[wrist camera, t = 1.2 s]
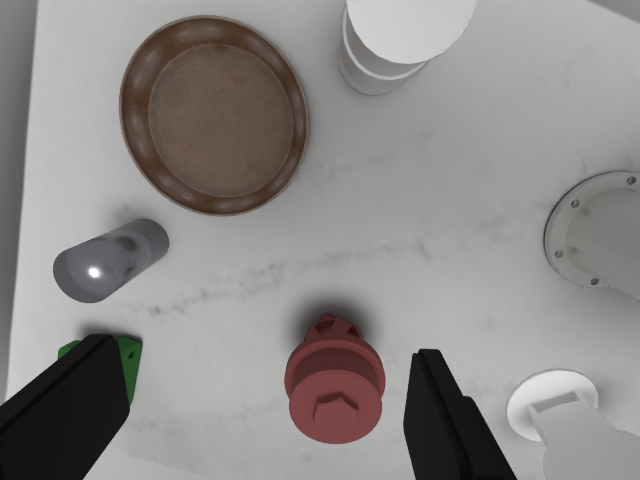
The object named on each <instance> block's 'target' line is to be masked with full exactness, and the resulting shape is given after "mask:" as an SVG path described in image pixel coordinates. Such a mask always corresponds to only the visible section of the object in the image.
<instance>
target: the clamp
mask: <svg viewBox="0 0 640 480" xmlns="http://www.w3.org/2000/svg"><path fill="white" fill-rule="evenodd" d="M117 341H118V343H119V348H120V354H121V359H122V365H123V371H124V376H125V382H126V388H127V393H128V399H129V405H130V404H131V402H132V398H133V392H134V386H135V381H136V375H137V370H138V364H139V358H140V353H141V344H139V343H137V342H135V341H133V340H131V339H129V338H127V337H121V338H119V339H117ZM79 342H81V341H79V340H75V341H72V342H71V343H69V344H67V345H65V346H63V347H61V348H60V349H59V351H58V359H60V358H61V357H62V356H63V355H64V354H66V353H67V352H68V351H69V350H71V349H72V348H73V347H74V346H76V345H77V344H78V343H79Z"/></svg>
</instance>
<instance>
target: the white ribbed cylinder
mask: <svg viewBox="0 0 640 480" xmlns="http://www.w3.org/2000/svg"><path fill="white" fill-rule="evenodd" d="M476 4H477V0H346V3H345V6H344V9H343V12H342V18H341V26H340V36H339V50H338V59H339V66H340V69H341V71H342V74H343V76H344V78H345V79H346V80H347V82H348V83H349V84H350V85H351V86H352V87H353V88H355V89H356V90H357V91H359V92H362V93H365V94H369V95H379V94H384V93H387V92H389V91H391V90H393V89H395V88H396V87H397V86H399V85H401V84H403V83H404V82H405V81H407V80H408V79H409V78H411V77H412V76H413V75H415V74H416V73H417V72H419V71H420V70H421V69H422V68H423V67H424V66H425V65H427V63H428V62H429V60H430V59H432V58H434V57H436V56H438V55H440V54H441V53H443V52H444V51H445V50H446V49H447V48H448V47H450V46H451V45H452V44H453V43H454V42H455V41H457V39H458V38H459V36H460V35H461V34H462V32H463V31H464V29H465V28H466V27H467V25H468V23H469V21H470V19H471V17H472V14H473V12H474V10H475V7H476Z"/></svg>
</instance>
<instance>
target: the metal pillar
mask: <svg viewBox="0 0 640 480" xmlns="http://www.w3.org/2000/svg"><path fill="white" fill-rule="evenodd" d="M168 248H169V239H168V236H167V234H166V232H165V230H164V229H163V228H162V227H161V226H160V225H159V224H157V223H156V222H154V221H151V220H148V219H139V220H136V221H133V222H131V223H129V224H126V225H124V226H121V227H119V228H117V229H114V230H112V231H110V232H107V233H105V234H103V235H100V236H98V237H95V238H93V239H91V240H88V241H86V242H84V243H81V244H79V245H77V246H74V247H72V248H70V249H67V250H65V251H63V252H61V253H60V254H59V255H58V256H57V258H56V259H55V262H54V265H53V274H54V278H55V280H56V282H57V284H58V286H59V287H60V289H61V290H62V291H63V292H64V293H65V294H67V295H68V296H69V297H71V298H73V299H75V300H77V301H79V302H83V303H96V302H99V301H102V300H104V299H105V298H107V297H108V296H109V295H111V294H112V293H114V292H115V291H116V290H118V289H119V288H121V287H122V286H123V285H125V284H126V283H128V282H129V281H130V280H132V279H133V278H134V277H136V276H137V275H139V274H140V273H141V272H143V271H144V270H146V269H147V268H148V267H150V266H151V265H153V264H154V263H155V262H157V261H158V260H160V259H161V258H162V257H164V256H165V254H166V253H167V251H168Z"/></svg>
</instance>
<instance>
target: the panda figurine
mask: <svg viewBox="0 0 640 480" xmlns="http://www.w3.org/2000/svg"><path fill="white" fill-rule="evenodd" d="M597 407H598V393H597V390H596V388H595V386H594V385H593V383H592V382H591V381H590V380H589V379H588V378H587V377H585V376H584V375H582V374H580V373H578V372H576V371H572V370H568V369H550V370H545V371H542V372H538V373H536V374H534V375H531V376H530V377H528V378H526V379H525V380H523V381H522V382H521V383H520V384H518V385H517V386H516V388H515V389H514V390H513V391H512V393H511V394H510V396H509V398H508V400H507V404H506V417H507V420H508V422H509V424H510V425H511V427H512V428H513V430H514V431H515V432H517V433H518V434H519V435H521V436H523V437H524V438H527V439H530V440H534V441H542V442H543V443H544V445H545V446H546V448H547V449H546V451H545V454H544V458H543V468H544V474H545V477H546V480H640V437H639V436H637V435H634V434H632V433H629V432H626V431H622V430H617V429H616V428H615V427H614V426H613V425H612V424H611V423H610V422H609V421H608V420H607V419H606V418H605V417H604V416H603V415H602V414H601V413H600V412H599V411H598V410H597Z"/></svg>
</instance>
